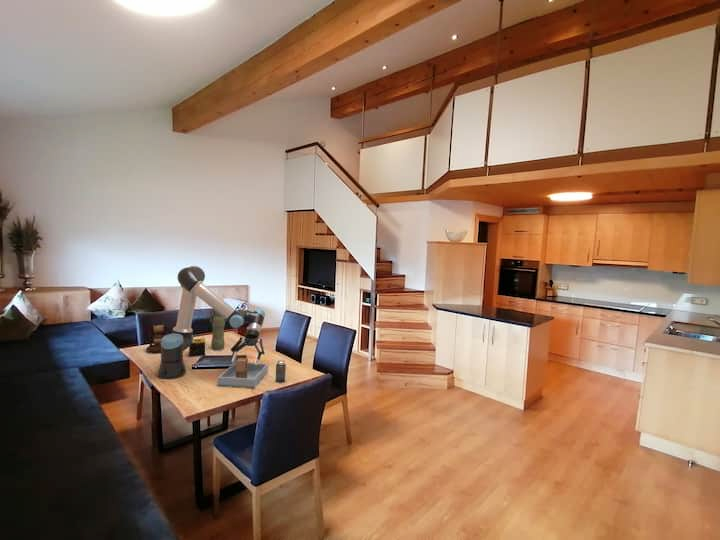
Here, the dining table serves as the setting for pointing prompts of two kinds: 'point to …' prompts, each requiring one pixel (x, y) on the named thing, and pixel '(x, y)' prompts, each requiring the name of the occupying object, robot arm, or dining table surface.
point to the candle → (197, 348)
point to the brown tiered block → (156, 337)
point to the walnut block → (241, 368)
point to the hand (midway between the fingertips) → (244, 363)
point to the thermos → (217, 330)
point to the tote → (253, 378)
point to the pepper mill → (280, 371)
